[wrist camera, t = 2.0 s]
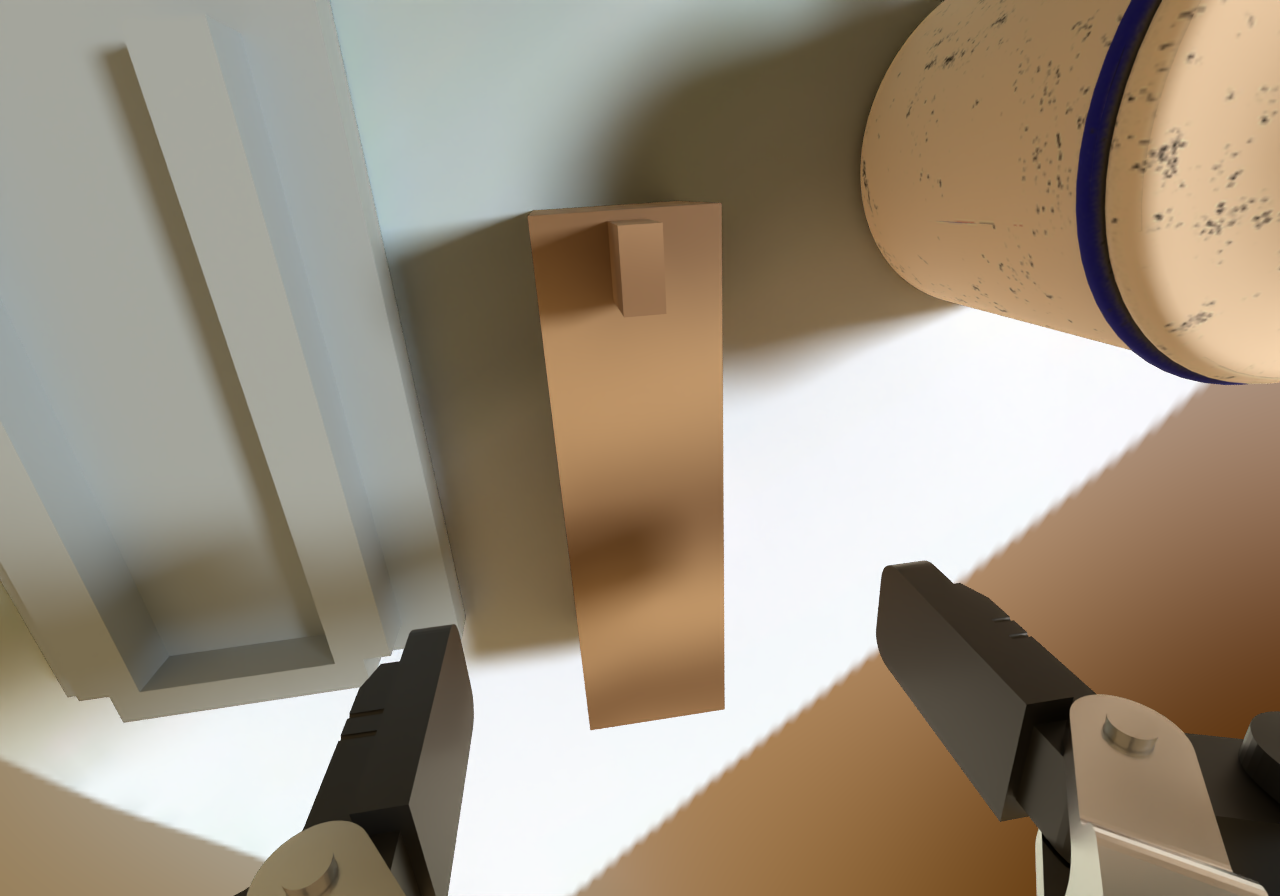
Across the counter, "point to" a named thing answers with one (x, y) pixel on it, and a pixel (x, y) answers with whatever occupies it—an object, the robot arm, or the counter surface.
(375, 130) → the counter surface
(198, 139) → the cradle jig
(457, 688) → the robot arm
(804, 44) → the counter surface
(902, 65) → the teacup with lid
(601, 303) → the plank with peg
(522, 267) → the counter surface
